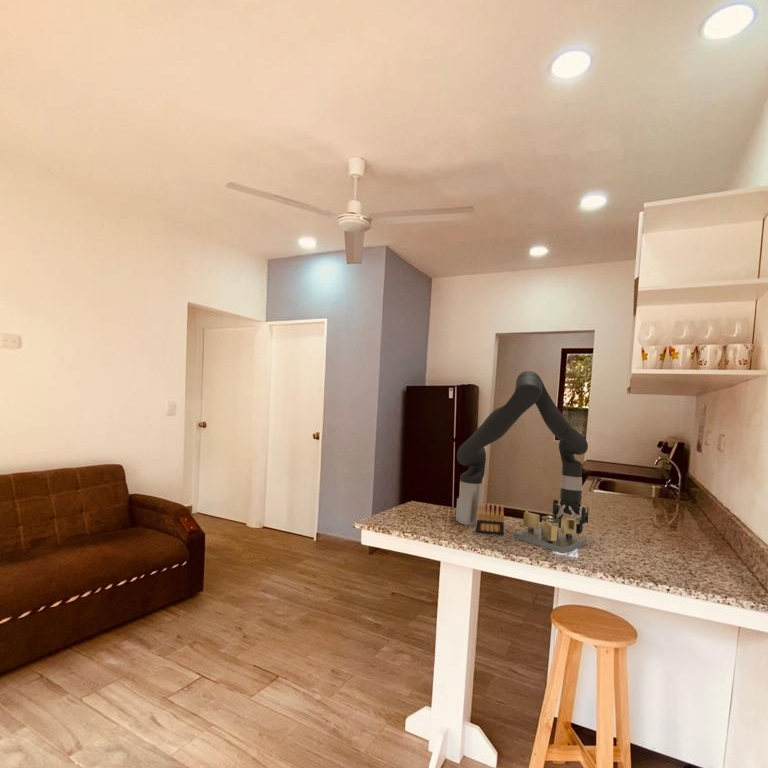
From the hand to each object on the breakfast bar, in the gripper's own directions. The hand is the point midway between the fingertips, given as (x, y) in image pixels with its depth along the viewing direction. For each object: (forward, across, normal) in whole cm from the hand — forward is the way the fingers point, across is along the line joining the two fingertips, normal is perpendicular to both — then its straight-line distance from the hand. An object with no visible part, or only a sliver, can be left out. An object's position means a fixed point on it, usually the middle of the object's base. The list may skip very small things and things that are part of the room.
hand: (569, 530), depth 167 cm
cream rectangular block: (+2, 0, 0) cm, 2 cm away
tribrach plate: (+4, +3, +7) cm, 9 cm away
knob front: (+2, -2, +14) cm, 14 cm away
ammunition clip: (+4, +18, +23) cm, 30 cm away
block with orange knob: (+2, +11, +9) cm, 14 cm away
